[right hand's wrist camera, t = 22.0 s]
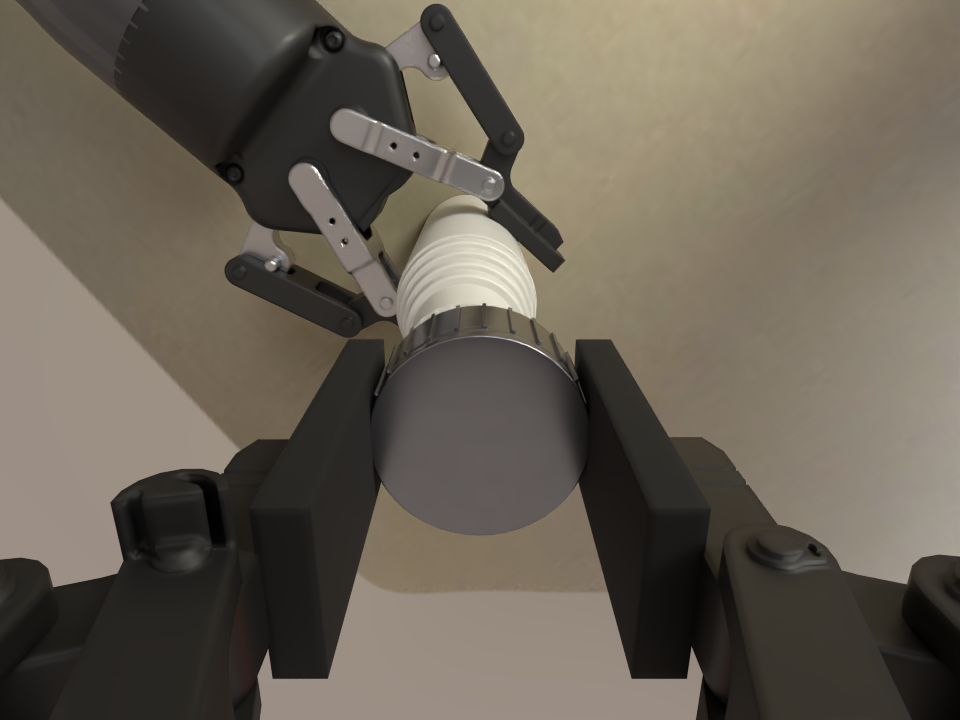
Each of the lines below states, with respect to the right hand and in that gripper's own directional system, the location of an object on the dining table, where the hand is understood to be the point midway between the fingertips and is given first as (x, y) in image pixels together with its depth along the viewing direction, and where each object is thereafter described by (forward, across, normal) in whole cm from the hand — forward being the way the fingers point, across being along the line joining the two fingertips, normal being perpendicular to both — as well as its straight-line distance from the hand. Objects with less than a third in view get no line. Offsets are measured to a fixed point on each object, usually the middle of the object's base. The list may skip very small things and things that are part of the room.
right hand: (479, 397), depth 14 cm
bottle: (+20, +1, 0) cm, 20 cm away
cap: (-2, 0, 0) cm, 2 cm away
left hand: (+14, -1, +2) cm, 14 cm away
